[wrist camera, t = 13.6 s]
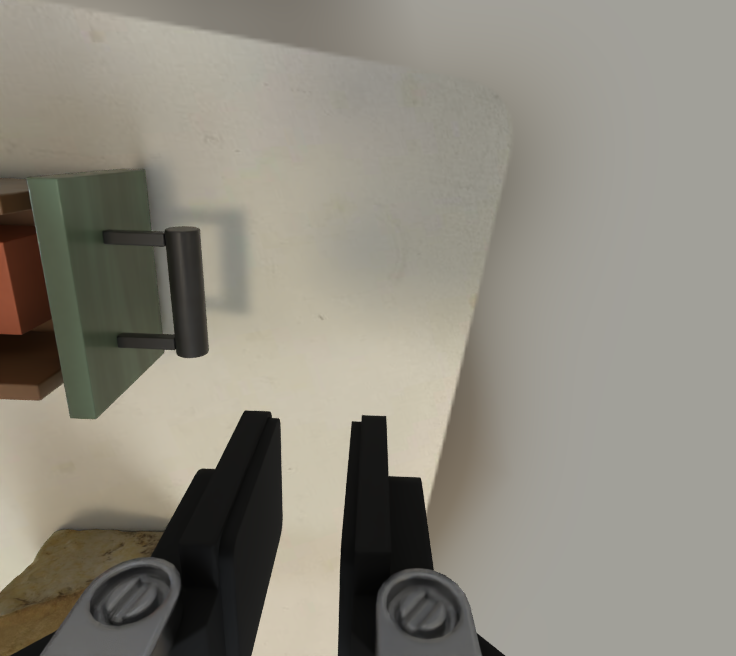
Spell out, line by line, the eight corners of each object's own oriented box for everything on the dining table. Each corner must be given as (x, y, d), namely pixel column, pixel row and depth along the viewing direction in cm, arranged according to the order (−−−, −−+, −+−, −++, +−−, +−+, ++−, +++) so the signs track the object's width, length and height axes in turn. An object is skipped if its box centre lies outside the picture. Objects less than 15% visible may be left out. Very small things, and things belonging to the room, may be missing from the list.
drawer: (226, 172, 26) (168, 182, 19) (236, 355, 30) (191, 423, 23) (-132, 158, 26) (-326, 162, 19) (-80, 342, 30) (-227, 406, 23)
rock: (209, 528, 33) (42, 488, 30) (158, 690, 28) (-43, 659, 25) (190, 545, 41) (60, 516, 39) (149, 671, 37) (-1, 647, 34)
